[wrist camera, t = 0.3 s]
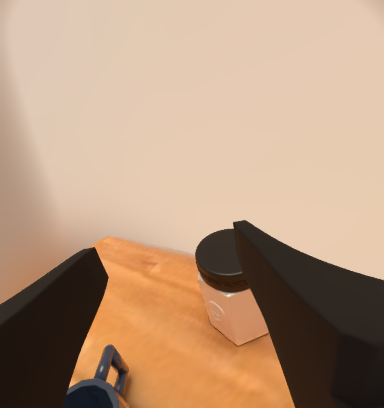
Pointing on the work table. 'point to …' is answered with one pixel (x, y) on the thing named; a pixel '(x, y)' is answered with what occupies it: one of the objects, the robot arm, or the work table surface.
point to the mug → (101, 385)
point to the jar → (227, 289)
